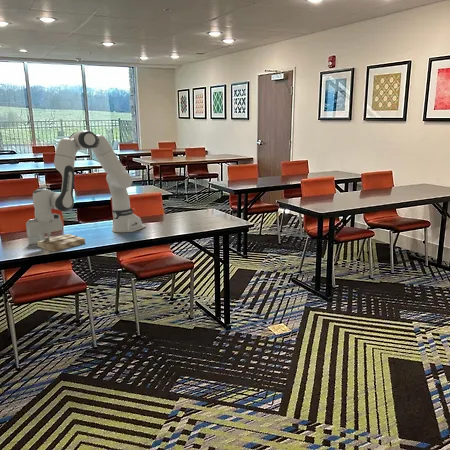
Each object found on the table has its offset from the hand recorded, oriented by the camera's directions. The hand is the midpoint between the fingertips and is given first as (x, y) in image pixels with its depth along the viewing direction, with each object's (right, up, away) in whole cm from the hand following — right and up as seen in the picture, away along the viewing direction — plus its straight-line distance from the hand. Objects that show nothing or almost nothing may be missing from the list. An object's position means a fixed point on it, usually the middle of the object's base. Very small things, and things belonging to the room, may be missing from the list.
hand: (46, 240), depth 241 cm
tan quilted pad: (+5, -2, +5) cm, 7 cm away
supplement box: (-10, -2, +10) cm, 14 cm away
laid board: (+11, -3, 0) cm, 12 cm away
